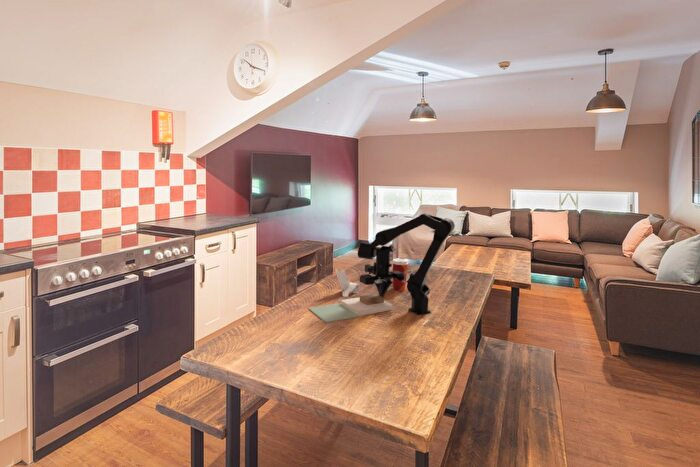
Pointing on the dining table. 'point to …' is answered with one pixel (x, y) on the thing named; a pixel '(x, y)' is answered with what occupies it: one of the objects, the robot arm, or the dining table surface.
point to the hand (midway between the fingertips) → (381, 297)
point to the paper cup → (401, 267)
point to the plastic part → (347, 284)
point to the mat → (333, 312)
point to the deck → (365, 306)
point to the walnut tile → (371, 299)
